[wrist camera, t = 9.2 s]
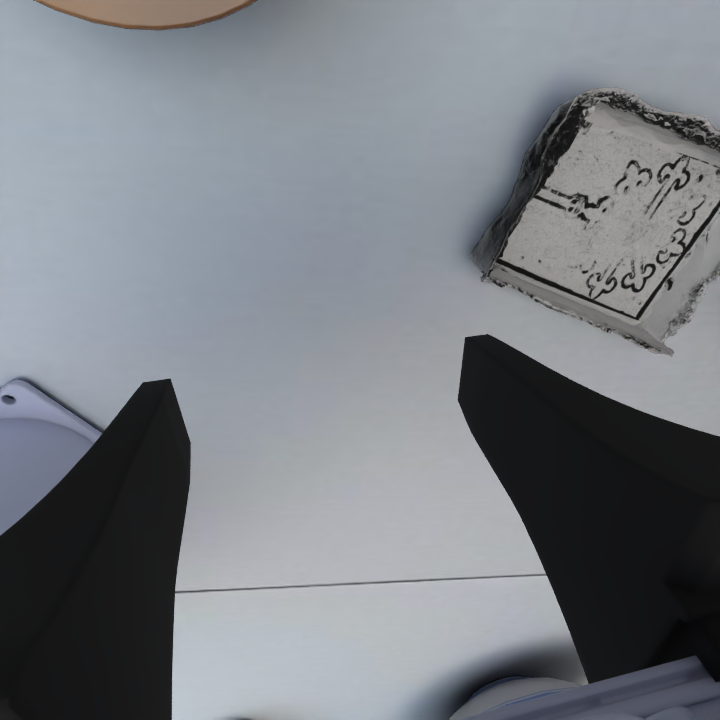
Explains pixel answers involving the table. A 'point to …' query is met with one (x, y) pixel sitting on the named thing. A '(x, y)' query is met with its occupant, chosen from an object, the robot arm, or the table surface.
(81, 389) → the table surface
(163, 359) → the table surface
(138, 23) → the knobbed round lid
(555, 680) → the ramen bowl
